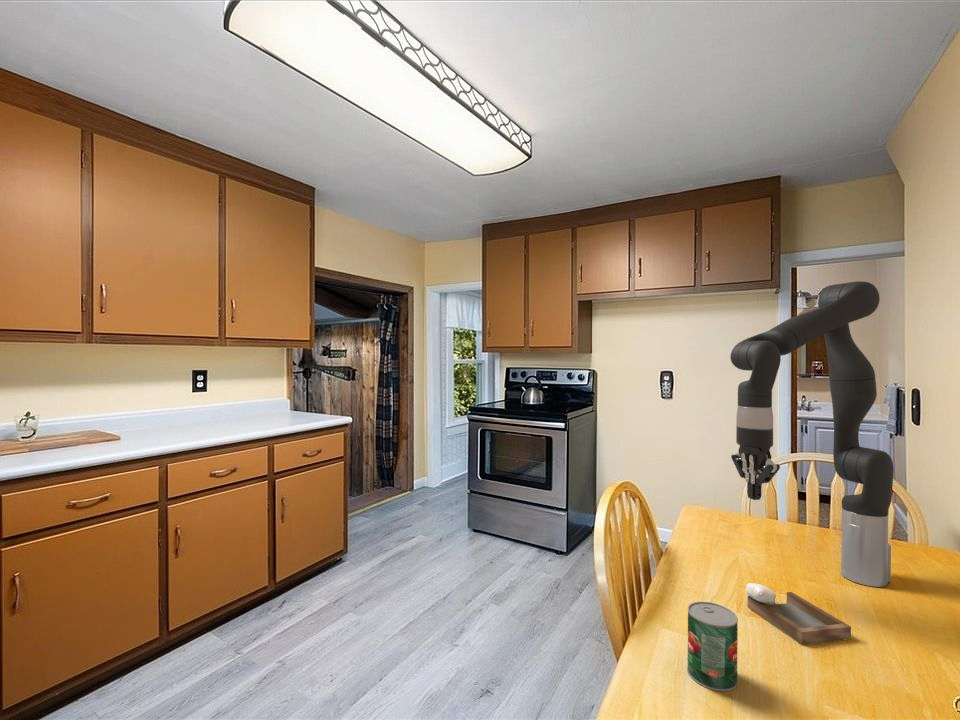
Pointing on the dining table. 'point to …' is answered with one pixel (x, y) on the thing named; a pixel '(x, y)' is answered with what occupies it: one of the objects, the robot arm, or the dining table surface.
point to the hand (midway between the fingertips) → (754, 498)
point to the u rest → (802, 620)
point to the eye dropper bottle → (760, 593)
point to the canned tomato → (712, 646)
